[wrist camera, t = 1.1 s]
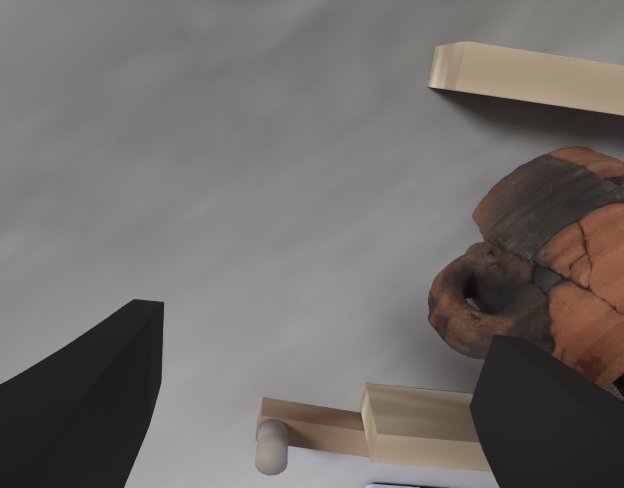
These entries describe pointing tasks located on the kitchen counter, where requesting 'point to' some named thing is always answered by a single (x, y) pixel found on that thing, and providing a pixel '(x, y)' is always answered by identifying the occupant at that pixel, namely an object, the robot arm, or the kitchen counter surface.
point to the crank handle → (305, 432)
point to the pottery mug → (547, 253)
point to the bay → (505, 84)
